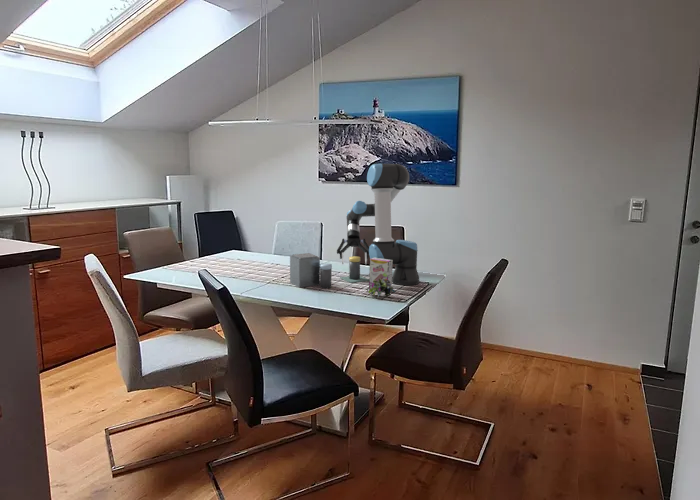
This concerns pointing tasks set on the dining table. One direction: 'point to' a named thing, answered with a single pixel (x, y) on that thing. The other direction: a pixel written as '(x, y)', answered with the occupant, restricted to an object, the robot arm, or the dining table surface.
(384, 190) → the robot arm
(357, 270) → the cylinder
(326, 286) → the blue
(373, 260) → the candy bar box
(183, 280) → the dining table surface
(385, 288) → the passion flower
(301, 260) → the box
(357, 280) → the mat
